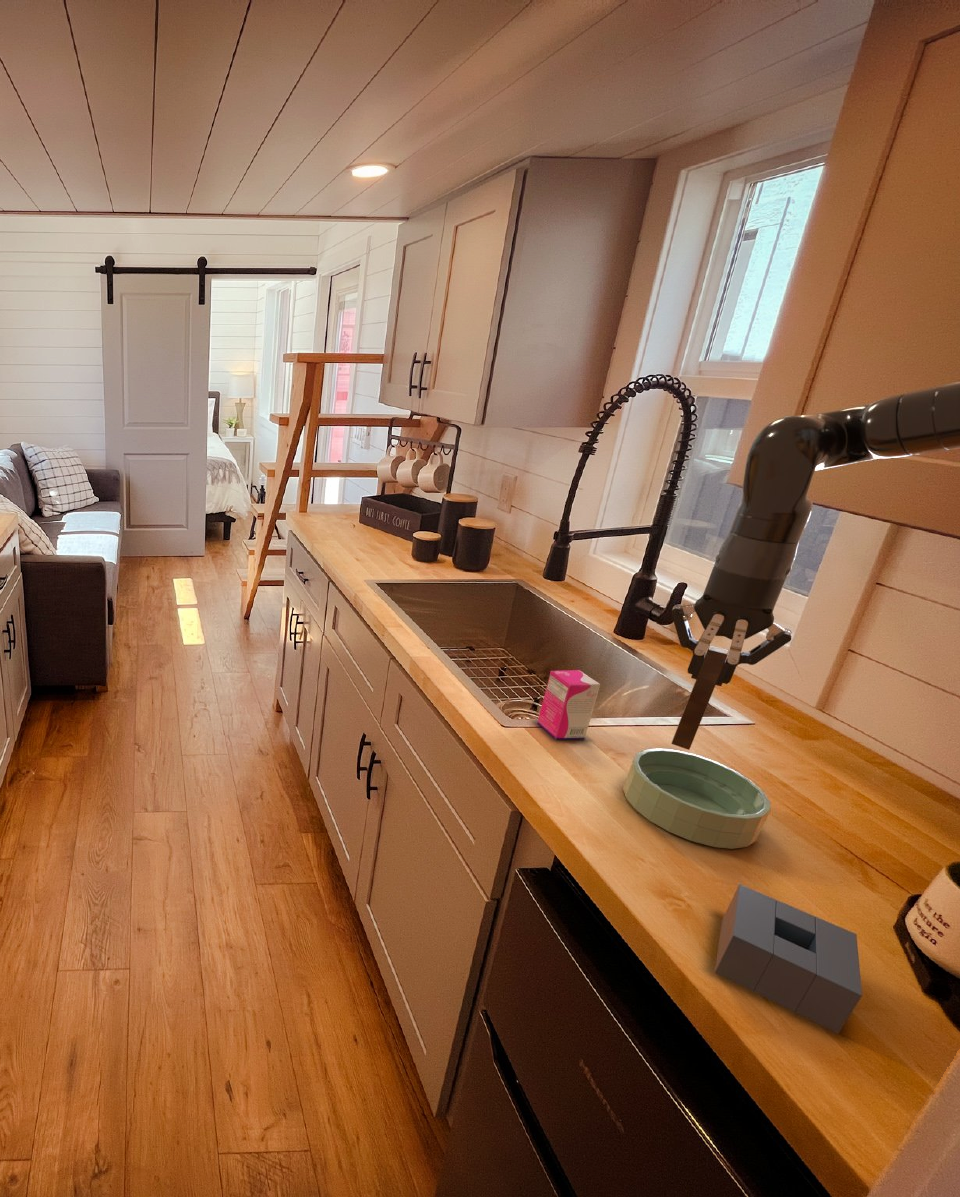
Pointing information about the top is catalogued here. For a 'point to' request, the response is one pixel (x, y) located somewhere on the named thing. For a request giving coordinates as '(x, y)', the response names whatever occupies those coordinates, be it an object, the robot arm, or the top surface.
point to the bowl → (696, 798)
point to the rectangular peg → (700, 696)
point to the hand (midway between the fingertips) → (706, 680)
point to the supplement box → (568, 704)
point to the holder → (790, 958)
